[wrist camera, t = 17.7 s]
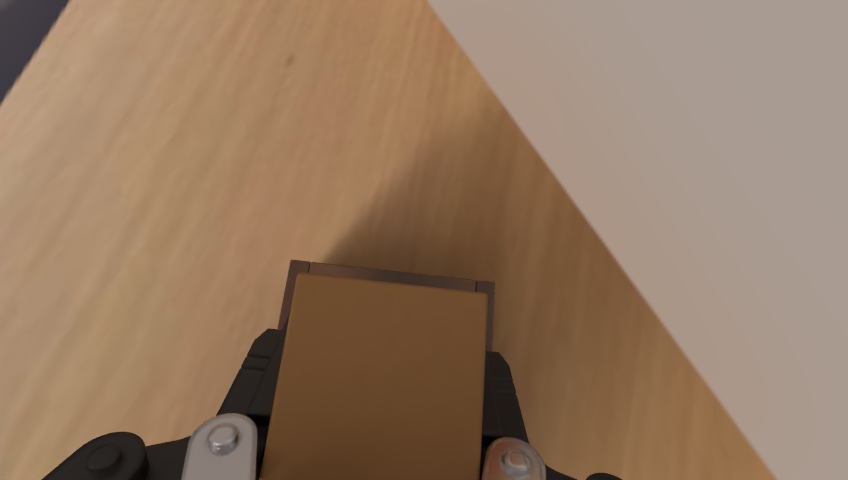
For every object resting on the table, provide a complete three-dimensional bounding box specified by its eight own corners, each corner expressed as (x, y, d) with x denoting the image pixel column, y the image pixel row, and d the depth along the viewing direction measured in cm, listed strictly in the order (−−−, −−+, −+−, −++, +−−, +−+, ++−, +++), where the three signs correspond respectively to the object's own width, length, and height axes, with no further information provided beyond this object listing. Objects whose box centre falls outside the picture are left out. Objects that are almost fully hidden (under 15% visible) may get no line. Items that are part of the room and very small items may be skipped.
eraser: (438, 328, 17) (489, 292, 10) (424, 506, 15) (473, 637, 8) (331, 317, 17) (297, 270, 9) (303, 497, 15) (231, 624, 7)
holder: (477, 296, 22) (495, 281, 18) (464, 539, 19) (482, 577, 15) (304, 277, 21) (290, 259, 18) (261, 525, 18) (233, 560, 15)
